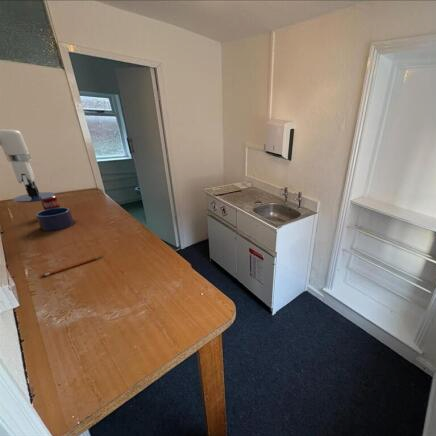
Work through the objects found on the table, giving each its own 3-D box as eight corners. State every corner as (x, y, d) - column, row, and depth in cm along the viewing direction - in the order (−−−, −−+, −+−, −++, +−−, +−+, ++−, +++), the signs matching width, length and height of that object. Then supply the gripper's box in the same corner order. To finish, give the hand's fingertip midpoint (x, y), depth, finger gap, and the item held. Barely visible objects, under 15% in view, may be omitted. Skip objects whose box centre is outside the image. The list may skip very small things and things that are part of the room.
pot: (40, 232, 125) (33, 218, 122) (43, 224, 135) (37, 210, 132) (73, 226, 133) (68, 213, 130) (74, 218, 143) (69, 206, 140)
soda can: (45, 214, 146) (37, 196, 141) (60, 211, 152) (54, 194, 147) (48, 217, 143) (41, 199, 138) (64, 214, 148) (57, 196, 143)
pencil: (43, 276, 94) (42, 274, 93) (100, 257, 107) (99, 255, 107) (43, 277, 93) (42, 275, 93) (100, 258, 106) (100, 256, 106)
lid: (11, 205, 107) (5, 191, 105) (17, 197, 118) (11, 184, 115) (54, 200, 116) (49, 187, 114) (56, 192, 126) (52, 180, 124)
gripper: (10, 155, 112) (26, 192, 120) (2, 161, 101) (20, 201, 108) (32, 154, 117) (46, 190, 124) (27, 160, 105) (43, 198, 113)
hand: (34, 194), depth 116 cm, fingers closed on lid, 3 cm apart
